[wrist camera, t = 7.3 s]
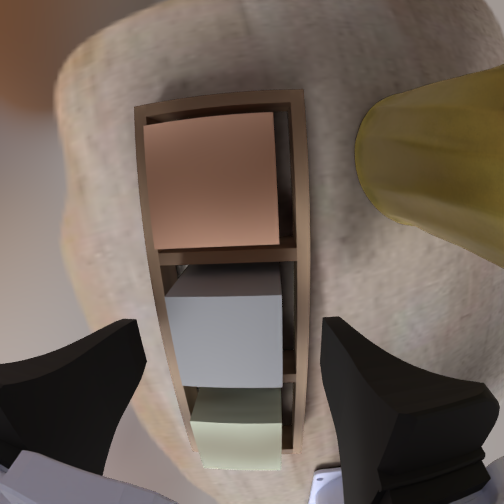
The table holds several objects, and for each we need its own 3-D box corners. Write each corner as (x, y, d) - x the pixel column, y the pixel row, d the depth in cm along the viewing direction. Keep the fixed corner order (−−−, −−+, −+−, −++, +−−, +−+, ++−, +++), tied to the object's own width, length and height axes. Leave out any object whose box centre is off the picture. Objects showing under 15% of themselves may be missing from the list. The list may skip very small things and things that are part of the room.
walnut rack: (299, 429, 17) (303, 479, 13) (198, 428, 17) (186, 476, 13) (298, 100, 12) (310, 74, 8) (152, 113, 12) (109, 98, 8)
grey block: (280, 335, 15) (282, 387, 11) (201, 336, 15) (182, 385, 11) (278, 258, 14) (281, 294, 10) (191, 261, 14) (164, 296, 10)
